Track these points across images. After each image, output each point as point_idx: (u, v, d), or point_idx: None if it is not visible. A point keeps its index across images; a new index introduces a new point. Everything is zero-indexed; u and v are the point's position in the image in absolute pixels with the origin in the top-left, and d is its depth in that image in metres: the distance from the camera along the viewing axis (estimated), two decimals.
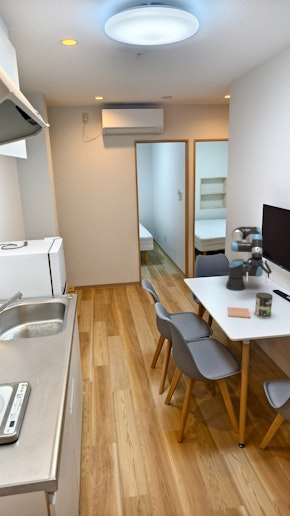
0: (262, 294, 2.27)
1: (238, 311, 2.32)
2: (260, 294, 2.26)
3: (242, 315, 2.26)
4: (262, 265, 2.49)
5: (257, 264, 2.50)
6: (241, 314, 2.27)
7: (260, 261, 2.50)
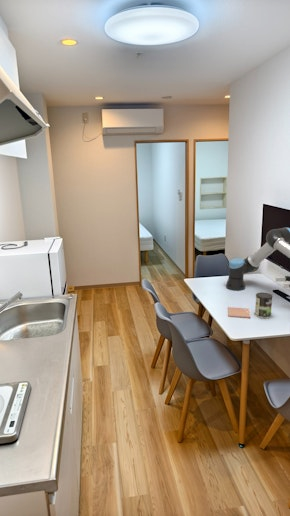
0: (262, 294, 2.27)
1: (238, 311, 2.32)
2: (260, 294, 2.26)
3: (242, 315, 2.26)
4: None
5: None
6: (241, 314, 2.27)
7: None
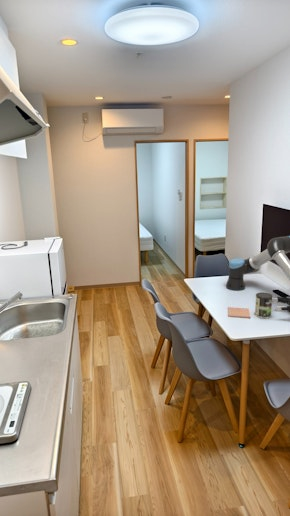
0: (262, 294, 2.27)
1: (238, 311, 2.32)
2: (260, 294, 2.26)
3: (242, 315, 2.26)
4: (287, 303, 2.30)
5: None
6: (241, 314, 2.27)
7: None
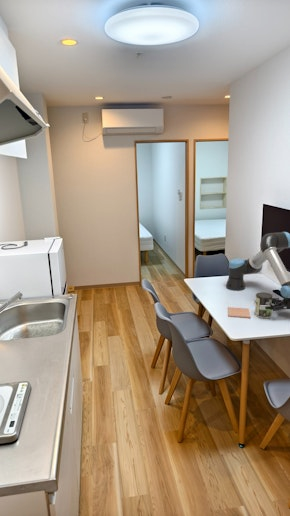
0: (262, 294, 2.27)
1: (238, 311, 2.32)
2: (260, 294, 2.26)
3: (242, 315, 2.26)
4: (274, 303, 2.30)
5: None
6: (241, 314, 2.27)
7: None
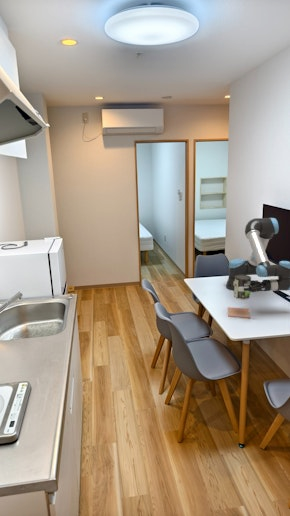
0: (241, 276, 2.27)
1: (238, 311, 2.32)
2: (239, 276, 2.26)
3: (242, 315, 2.26)
4: (253, 286, 2.30)
5: None
6: (241, 314, 2.27)
7: None
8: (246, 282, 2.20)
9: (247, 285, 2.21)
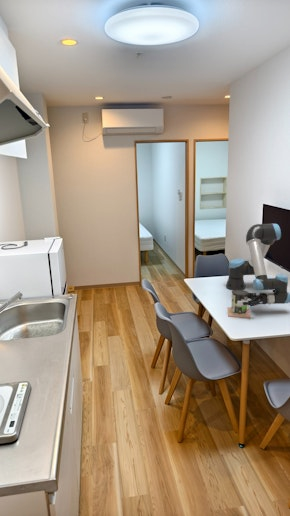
0: (238, 291, 2.30)
1: None
2: (236, 291, 2.29)
3: (242, 315, 2.26)
4: (250, 298, 2.33)
5: None
6: None
7: None
8: (243, 297, 2.23)
9: (244, 300, 2.24)
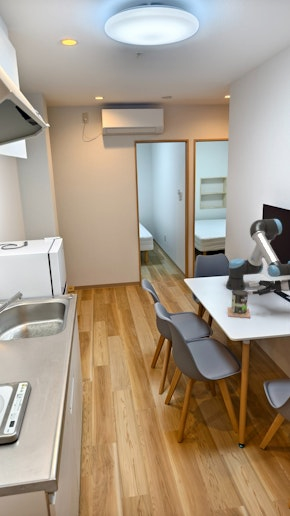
0: (238, 291, 2.30)
1: None
2: (236, 291, 2.29)
3: (242, 315, 2.26)
4: None
5: None
6: None
7: None
8: (243, 297, 2.23)
9: (244, 300, 2.24)
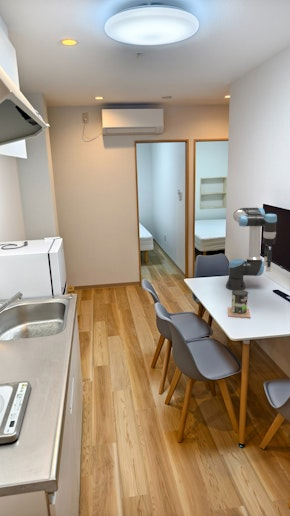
0: (238, 291, 2.30)
1: None
2: (236, 291, 2.29)
3: (242, 315, 2.26)
4: None
5: None
6: None
7: None
8: (243, 298, 2.23)
9: (244, 300, 2.24)
